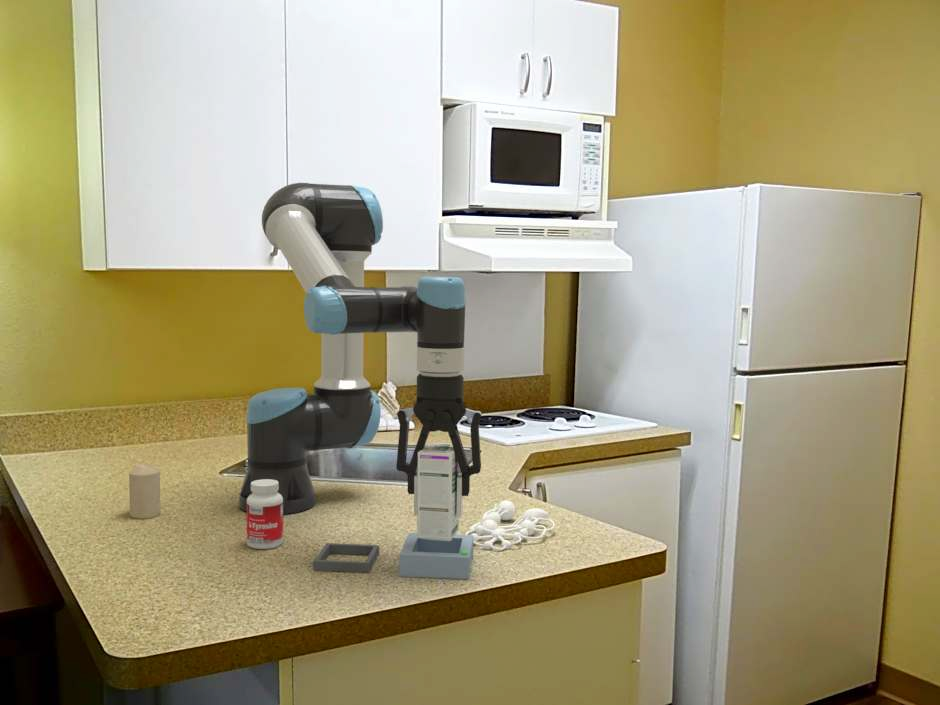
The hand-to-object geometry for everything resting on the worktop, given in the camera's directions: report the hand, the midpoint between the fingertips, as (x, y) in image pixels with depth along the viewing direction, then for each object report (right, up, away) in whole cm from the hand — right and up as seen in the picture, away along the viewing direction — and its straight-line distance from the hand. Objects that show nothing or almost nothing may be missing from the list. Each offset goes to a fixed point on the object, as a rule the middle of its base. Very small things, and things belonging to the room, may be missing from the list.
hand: (438, 513), depth 137 cm
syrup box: (0, -4, 0) cm, 4 cm away
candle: (-58, -5, +26) cm, 63 cm away
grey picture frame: (-15, -8, +2) cm, 17 cm away
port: (0, -9, +1) cm, 9 cm away
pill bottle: (-31, -7, +10) cm, 33 cm away
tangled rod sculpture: (+13, -8, +18) cm, 23 cm away
